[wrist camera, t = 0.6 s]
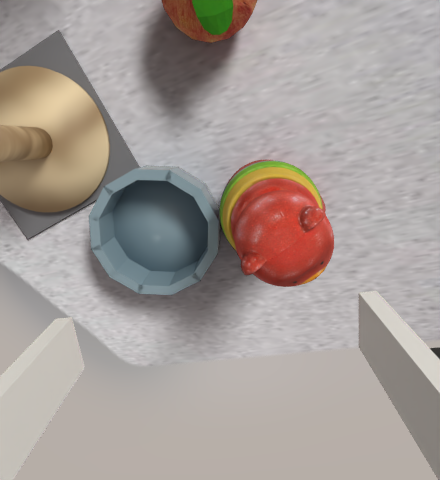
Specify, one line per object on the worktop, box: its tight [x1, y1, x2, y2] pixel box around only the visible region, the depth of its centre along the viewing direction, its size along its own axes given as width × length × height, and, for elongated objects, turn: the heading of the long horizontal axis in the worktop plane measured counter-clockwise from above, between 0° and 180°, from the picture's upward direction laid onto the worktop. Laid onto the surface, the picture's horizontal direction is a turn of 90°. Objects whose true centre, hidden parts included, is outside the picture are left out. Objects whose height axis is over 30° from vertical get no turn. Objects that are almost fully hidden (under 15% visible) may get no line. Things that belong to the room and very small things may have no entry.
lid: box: [0, 66, 110, 212], centre depth 34 cm, size 15×15×9 cm
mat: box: [0, 30, 140, 239], centre depth 38 cm, size 16×16×1 cm
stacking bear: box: [220, 160, 334, 287], centre depth 31 cm, size 11×10×18 cm
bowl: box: [89, 166, 220, 295], centre depth 38 cm, size 13×13×5 cm
